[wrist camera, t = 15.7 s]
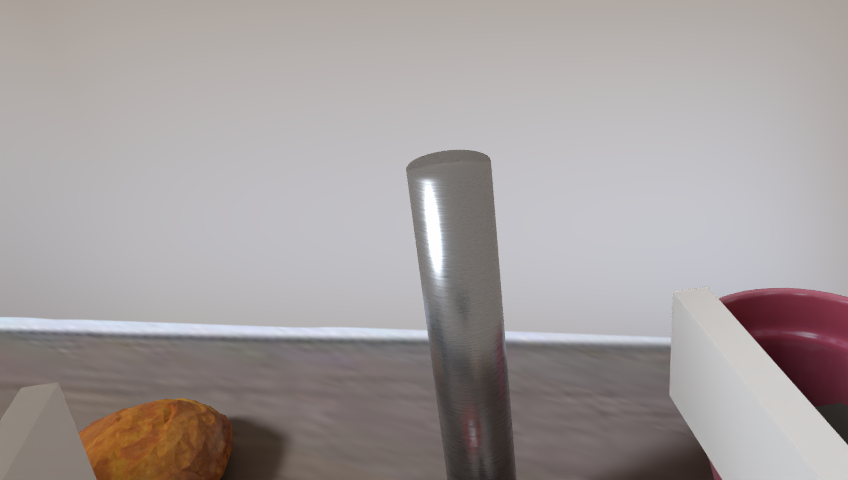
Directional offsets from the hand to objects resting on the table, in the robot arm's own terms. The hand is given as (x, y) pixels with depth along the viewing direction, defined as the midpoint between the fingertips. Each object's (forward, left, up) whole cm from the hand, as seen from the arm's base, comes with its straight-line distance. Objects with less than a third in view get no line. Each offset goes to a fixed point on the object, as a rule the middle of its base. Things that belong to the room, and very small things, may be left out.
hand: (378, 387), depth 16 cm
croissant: (-22, +34, -32) cm, 52 cm away
